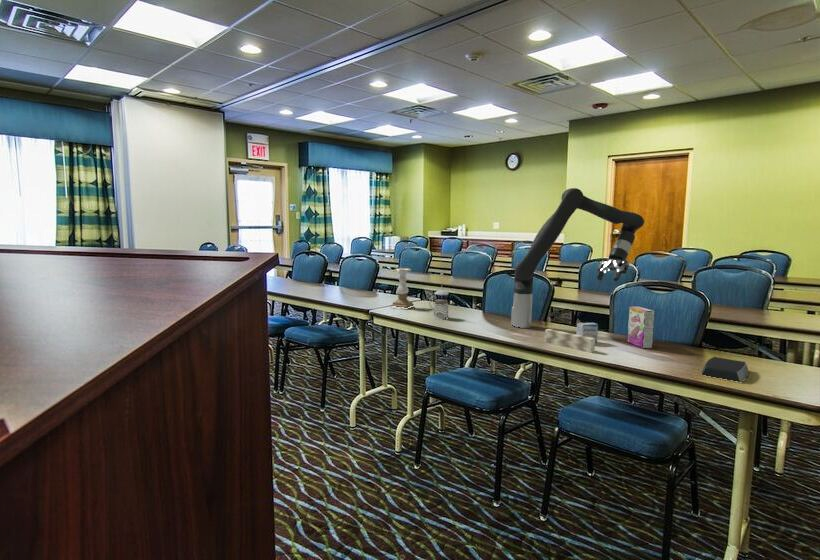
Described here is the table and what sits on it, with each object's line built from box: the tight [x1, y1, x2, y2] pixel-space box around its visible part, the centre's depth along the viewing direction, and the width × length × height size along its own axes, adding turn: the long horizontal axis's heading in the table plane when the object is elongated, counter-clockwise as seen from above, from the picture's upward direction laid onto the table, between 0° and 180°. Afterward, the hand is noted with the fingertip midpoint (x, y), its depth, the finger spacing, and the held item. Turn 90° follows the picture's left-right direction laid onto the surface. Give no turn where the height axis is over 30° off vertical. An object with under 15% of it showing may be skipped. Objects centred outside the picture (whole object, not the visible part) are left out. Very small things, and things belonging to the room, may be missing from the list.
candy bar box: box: [626, 305, 656, 349], centre depth 206 cm, size 11×5×16 cm, turn 9°
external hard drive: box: [701, 356, 749, 383], centre depth 169 cm, size 13×19×4 cm
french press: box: [428, 272, 450, 320], centre depth 260 cm, size 10×12×25 cm
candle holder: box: [390, 267, 415, 308], centre depth 290 cm, size 11×11×24 cm
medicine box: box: [576, 322, 599, 344], centre depth 211 cm, size 8×4×9 cm, turn 105°
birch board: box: [544, 328, 596, 353], centre depth 203 cm, size 22×3×6 cm, turn 40°
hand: (606, 280), depth 219 cm, fingers open, 8 cm apart
